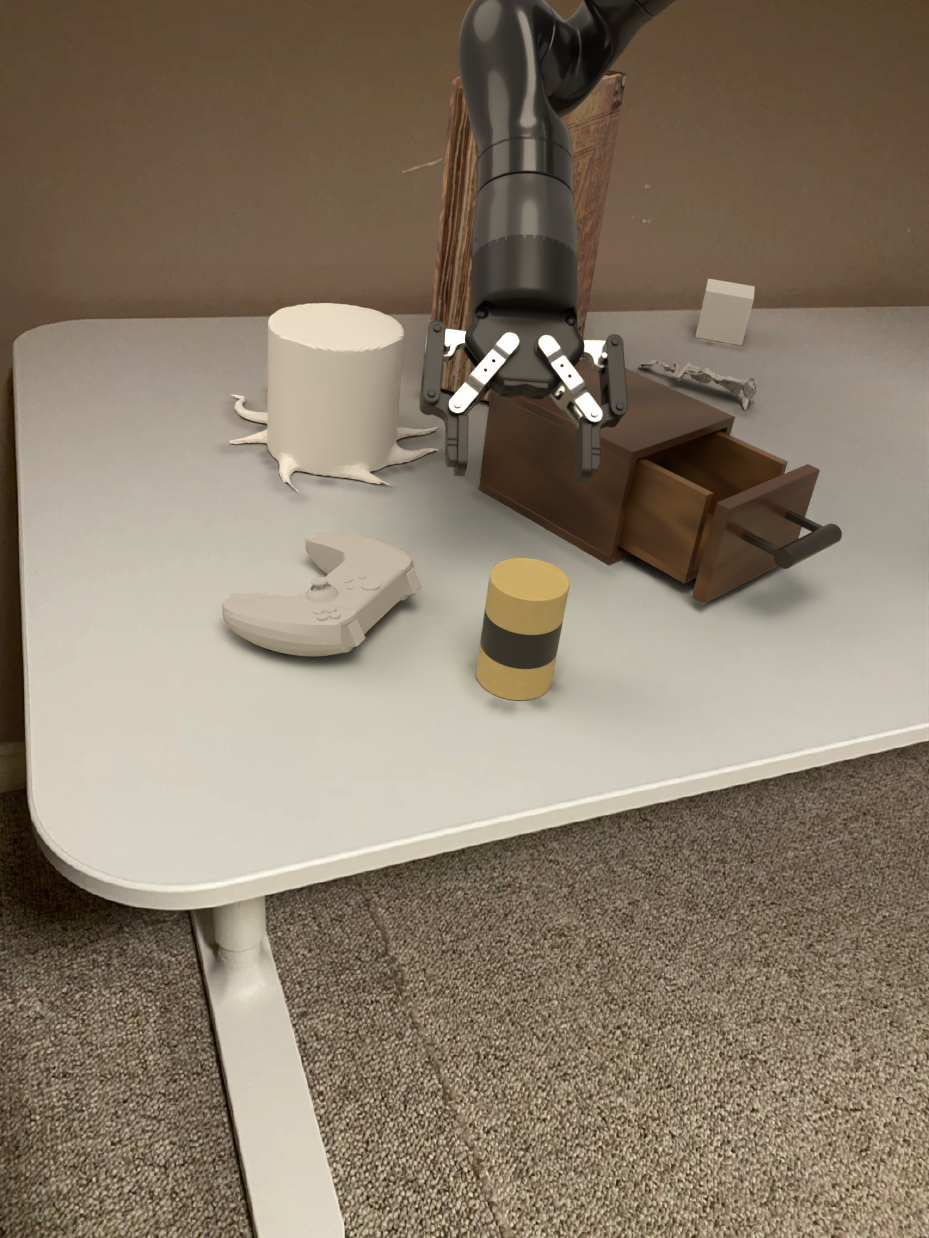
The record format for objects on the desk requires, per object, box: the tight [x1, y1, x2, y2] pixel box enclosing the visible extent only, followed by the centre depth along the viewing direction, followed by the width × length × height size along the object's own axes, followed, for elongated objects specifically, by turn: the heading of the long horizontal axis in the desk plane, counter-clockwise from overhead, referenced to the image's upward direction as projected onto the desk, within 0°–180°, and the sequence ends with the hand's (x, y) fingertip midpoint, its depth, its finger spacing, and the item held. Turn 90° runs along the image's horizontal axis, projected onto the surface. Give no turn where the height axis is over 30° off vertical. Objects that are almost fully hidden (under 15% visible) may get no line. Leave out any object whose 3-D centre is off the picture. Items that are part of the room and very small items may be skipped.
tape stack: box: [475, 557, 570, 701], centre depth 72 cm, size 5×5×8 cm
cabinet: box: [478, 358, 736, 566], centre depth 94 cm, size 16×14×10 cm
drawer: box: [618, 430, 843, 605], centre depth 87 cm, size 19×12×8 cm, turn 43°
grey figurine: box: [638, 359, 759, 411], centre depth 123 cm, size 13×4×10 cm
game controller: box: [221, 531, 422, 657], centre depth 77 cm, size 14×4×10 cm
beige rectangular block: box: [695, 278, 755, 347], centre depth 139 cm, size 6×6×6 cm
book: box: [429, 69, 627, 403], centre depth 115 cm, size 25×9×30 cm, turn 156°
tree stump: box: [229, 302, 440, 494], centre depth 99 cm, size 25×20×12 cm
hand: (522, 476), depth 74 cm, fingers open, 8 cm apart
